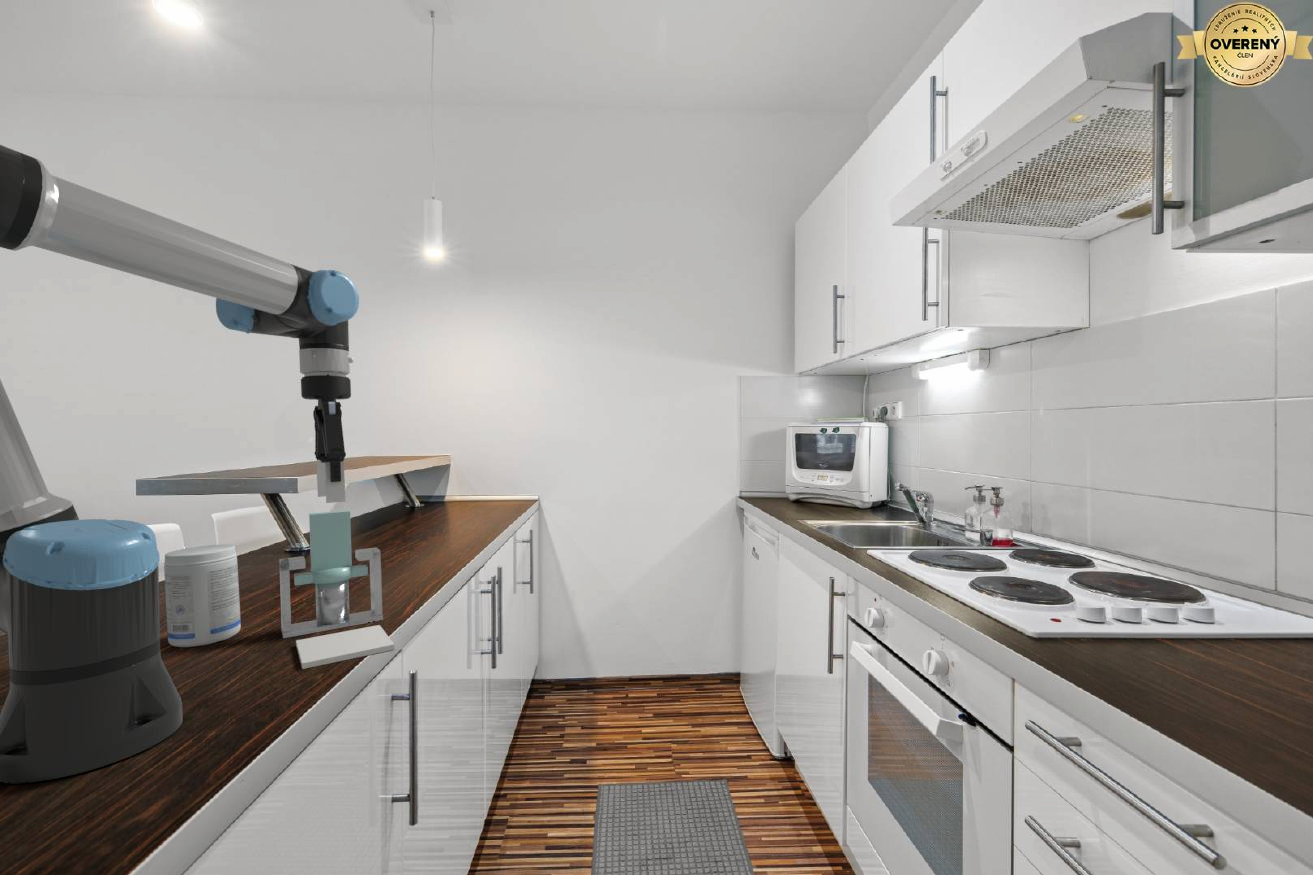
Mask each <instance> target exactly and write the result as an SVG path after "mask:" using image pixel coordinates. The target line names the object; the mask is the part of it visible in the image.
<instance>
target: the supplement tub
mask: <svg viewBox="0 0 1313 875" xmlns="http://www.w3.org/2000/svg"><path fill="white" fill-rule="evenodd" d="M163 565H164V566H163V568H164V569H163V571H164V572H163V574H164V591H165V593H164V594H165V608H166V610H165V611H166V625H167V626H166V627H167V628H166V629H167V641H168V644H169V645H170V646H173V647H176V648H177V647H178V648H191V647H192V648H195V647H200V646H208V645H211V644H213V643H214V644H215V643H217V642H221V641H225V640H227V639H230V638H232V637H234V636H235V635H237V634H238V633H239V632H240V630H241V628H242V627H241V621H242V620H241V604H240V589H239V588H240V586H239V584H240V583H239V568H238V556H237V552H236V545H234V544H210V545H208V544H207V545H201V546H193V547H185V548H181V549H175V550H172V551H169V552H166V553H165V554H164V562H163Z"/></svg>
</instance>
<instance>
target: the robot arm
mask: <svg viewBox="0 0 1313 875" xmlns="http://www.w3.org/2000/svg"><path fill="white" fill-rule="evenodd" d="M28 247H35V248H39V249H43V250H46V251H50V252H54V253H56V254H60V255H62V256H63V255H64V256H67V257H70V258H75V259H78V260H82V261H85V262H88V263H92V264H96V265H100V266H103V267H106V268H109V269H113V270H117V271H121V272H124V273H126V274H127V273H128V274H130V275H131V274H132V275H133V276H136V277H137V276H138V277H142V278H144V279H148V280H152V281H157V282H159V283H162V284H166V285H170V286H174V287H177V288H180V289H183V290H187V291H191V292H195V293H198V294H201V295H204V296H208V297H212V298H216V299H215V312H216V316H217V319H218V321H219V322H220V323H221V325H222V326H223V327H225V328H226V329H229V330H233V331H238V332H243V333H245V334H248V335H249V334H257V335H268V336H275V337H286V338H292V339H298V344H299V349H298V351H299V352H298V354H299V372H300V374H302V375H304V376H302V377H301V378H300V394H301V398H302V399H305V400H311V401H312V400H317V405H315V407H314V410H313V420H314V433H315V436H314V437H315V439H314V440H315V442H314V449H315V450H314V456H315V459H316V481H317V482H316V484H317V488H316V489H317V497H318V498H320V497H321V498H322V497H325V501H326V502H325V503H326V504H330V503H331V504H332V503H343V502H346V487H345V486H346V485H345V483H346V482H345V481H346V480H345V461H344V460H345V458H346V455H347V454H346V451H345V449H346V448H345V442H344V440H345V439H344V431H343V422H342V417H343V416H342V415H343V413H342V409H341V408H342V404H341V402H340V401H341V400H348V399H350V398H351V397H352V390H351V389H352V388H351V386H352V385H351V384H352V383H351V379H350V377H348V376H347V375H349V374H350V373H351V372H350V371H351V369H350V364H353V363H354V358H353V357H349V355H350V353H349V352H350V343H349V342H350V340H349V339H350V336H349V334H350V333H349V320H351V319H352V318H354V316H355V315H356V314H357V312H358V310H359V307H360V306H359V304H360V295H359V292H358V289H357V287H356V284H355V283H354V281H352V279H351V278H350V277H349V276H347V275H346V274H345V273H343V272H341V271H338V270H336V269H335V270H334V269H327V270H326V269H320V270H317V271H313V270H312V271H311V270H308V269H305V268H302V267H301V266H298V265H294V264H291V263H290V262H286V261H283V260H281V259H278V258H275V257H272V256H270V255H267V254H265V253H262V252H259V251H257V250H254V249H251V248H248V247H245V246H243V245H240V244H237V243H235V242H232V241H230V240H227V239H224V238H221V237H219V236H216V235H214V234H211V233H208V232H205V231H203V230H200V229H198V228H195V227H192V226H190V225H186V224H184V223H182V222H178V221H176V220H173V219H171V218H168V217H165V216H162V215H159V214H157V213H155V212H151V211H149V210H146V209H144V208H141V207H138V206H136V205H133V204H130V203H127V202H125V201H122V200H119V199H117V198H114V197H111V196H110V195H109V196H108V195H106V194H104V193H100V192H98V191H96V190H92V189H90V188H87V187H84V186H82V185H79V184H76V183H74V182H71V181H69V180H66V179H63V178H60V177H58V176H54V175H52V174H51V173H50V171H49V170H48V169H47V167H46V166H45V165H44V163H43V162H42V160H40V159H38V158H35V157H33V156H30V155H28V154H25V153H23V152H20V151H18V150H15V149H13V148H11V147H10V148H9V147H8V146H7V147H6V146H5V145H2V144H0V248H2V249H5V250H6V249H7V250H9V251H14V252H15V251H19V250H22V249H25V248H28ZM337 400H339V401H337ZM157 545H158V544H157V537H156V534H155V532H154V531H153V530H152V529H151V528H150V527H149V526H147V525H146V524H144V523H141V522H138V521H133V520H125V519H124V520H123V519H103V518H99V519H97V518H92V519H88V518H87V519H80V518H79V515H78V514H77V511H76V509H75V507H74V504H73V501H72V500H69V499H66V498H63V497H61V496H57V495H55V494H52V493H51V492H50V491H49V490H48V487H47V485H46V483H45V480H44V478H43V476H42V473H41V471H40V469H39V467H38V465H37V462H36V459H35V457H34V455H33V452H32V450H31V448H30V446H29V444H28V441H27V439H26V436H25V434H24V431H23V429H22V426H21V424H20V422H19V420H18V417H17V415H16V413H15V410H14V408H13V405H12V403H11V400H10V398H9V396H8V393H7V391H6V389H5V387H4V384H3V382H2V380H1V379H0V634H5V635H8V636H7V639H8V663H9V664H8V667H9V691H8V693H7V697H6V698H5V701H4V704H3V707H2V709H1V712H0V782H4V783H3V784H26V783H25V782H29V783H36V782H38V783H39V782H42V781H44V780H45V781H50V780H55V779H60V778H64V777H69V776H73V775H78V774H81V773H85V772H89V771H92V770H95V769H99V768H102V767H104V766H108V765H111V764H114V763H116V762H119V761H122V760H124V759H128V758H129V757H133V756H134V755H136V754H139V753H142V752H143V751H144V752H145V750H147V749H150V748H152V747H153V746H155V745H157V744H159V743H161V742H163V741H164V740H166V739H167V738H169V737H170V736H171V735H173V734H174V733H175V732H176V731H177V730H179V728H180V727H181V725H182V723H183V720H184V719H183V717H184V715H183V703H182V702H183V701H182V698H181V696H180V694H179V692H178V689H177V688H176V686H175V684H174V682H173V679H172V678H171V675H170V674H169V671H168V669H167V667H166V666H165V663H164V661H163V659H162V655H161V653H162V652H161V633H160V632H161V630H160V629H161V627H160V626H161V625H160V623H161V622H160V583H159V582H160V581H159V580H160V578H159V576H160V575H159V563H160V561H161V560H160V552H159V550H158V546H157ZM8 782H10V783H8ZM13 782H14V783H13ZM16 782H17V783H16ZM19 782H20V783H19ZM21 782H22V783H21Z"/></svg>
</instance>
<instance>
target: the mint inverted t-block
mask: <svg viewBox="0 0 1313 875" xmlns="http://www.w3.org/2000/svg"><path fill="white" fill-rule="evenodd" d="M308 516H309V517H308V518H309V519H308V520H309V522H308V523H309V548H310V549H309V550H310V551H309V552H310V570H309V571H308V572H300V573H299V572H298V573H294V574H293V581H294V582H293V583H294V586H302V585H308V584H315V583H316V584H324V583H334V582H340V581H344V580H348V581H349V580H350V579H352V578H357V577H364V576H365V577H366V576H369V566H368V565H367V564H359V565H353V564H352V563H353V562H352V561H353V557H352V554H353V553H352V528H351V527H352V525H351V510H348V509H347V510H346V509H345V510H334V511H323V512H322V511H321V512H312V513H308Z"/></svg>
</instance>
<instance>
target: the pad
mask: <svg viewBox="0 0 1313 875" xmlns="http://www.w3.org/2000/svg"><path fill="white" fill-rule="evenodd" d="M295 646H296V650H297V653H298V658H299V661H300V667H301V669H302V670H306V669H308V668H314V667H320V666H324V665H328V664H333V663H337V662H342V661H347V660H352V659H356V658H362V657H366V656H371V655H375V654H380V653H384V652H390V651H395V643H394V642H393V640H392V639H391V638H390V636H388V634H387V632H386V631H385V630H384V628H383V627H382V626H381V625H380V624H378V625H372V626H365V627H362V628H356V629H350V630H344V631H340V632H339V631H338V632H335V633H328V634H325V635H318V636H313V637H308V638H302V639H296V640H295Z"/></svg>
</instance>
